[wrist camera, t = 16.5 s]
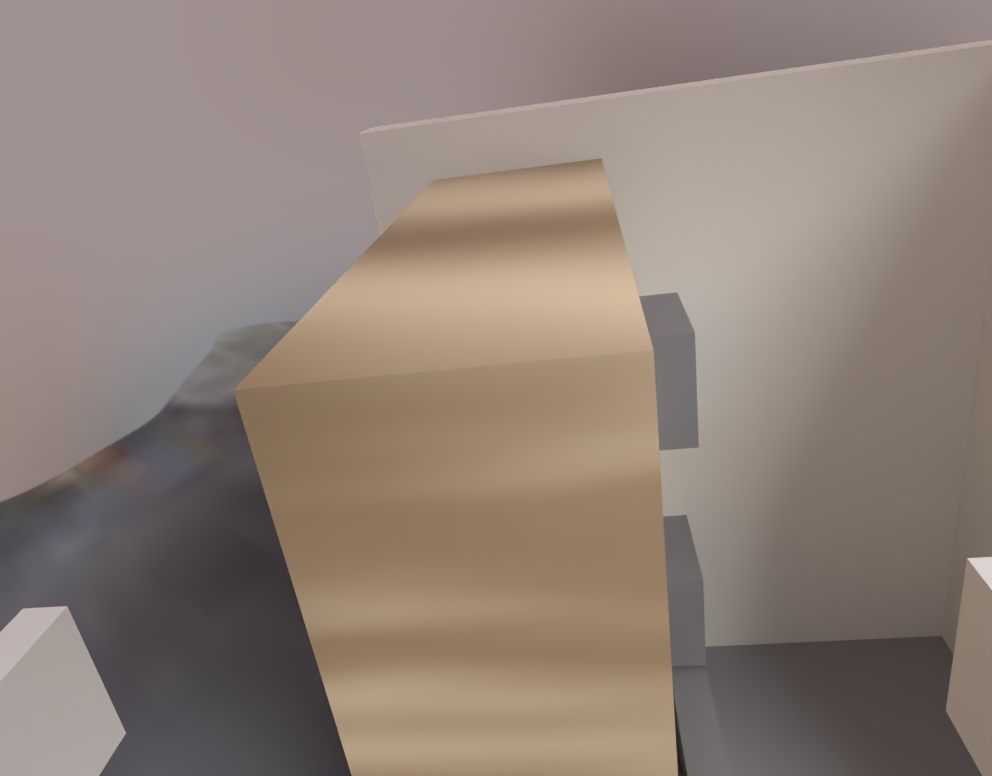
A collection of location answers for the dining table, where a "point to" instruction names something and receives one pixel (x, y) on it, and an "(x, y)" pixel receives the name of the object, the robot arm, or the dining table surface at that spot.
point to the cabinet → (794, 382)
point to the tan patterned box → (479, 488)
